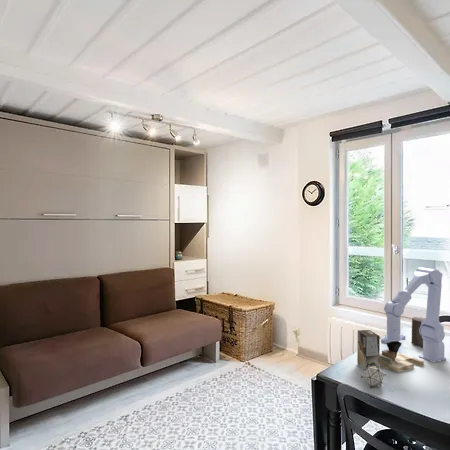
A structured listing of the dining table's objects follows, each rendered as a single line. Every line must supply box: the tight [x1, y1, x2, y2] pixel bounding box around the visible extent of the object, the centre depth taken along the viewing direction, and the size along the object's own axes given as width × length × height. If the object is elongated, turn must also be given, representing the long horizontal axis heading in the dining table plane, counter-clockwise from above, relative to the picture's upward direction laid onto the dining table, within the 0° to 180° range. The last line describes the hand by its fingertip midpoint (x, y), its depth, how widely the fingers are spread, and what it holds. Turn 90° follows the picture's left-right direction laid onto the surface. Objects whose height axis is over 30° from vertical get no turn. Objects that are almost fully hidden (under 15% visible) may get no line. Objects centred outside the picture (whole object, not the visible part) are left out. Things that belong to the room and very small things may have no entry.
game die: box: [360, 364, 387, 389], centre depth 140 cm, size 9×8×10 cm
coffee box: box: [356, 329, 381, 372], centre depth 158 cm, size 9×6×16 cm
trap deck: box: [379, 351, 425, 373], centre depth 164 cm, size 18×16×4 cm
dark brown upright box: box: [411, 316, 426, 348], centre depth 190 cm, size 10×10×15 cm
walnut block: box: [381, 349, 395, 362], centre depth 162 cm, size 4×4×4 cm
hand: (393, 357), depth 164 cm, fingers closed
